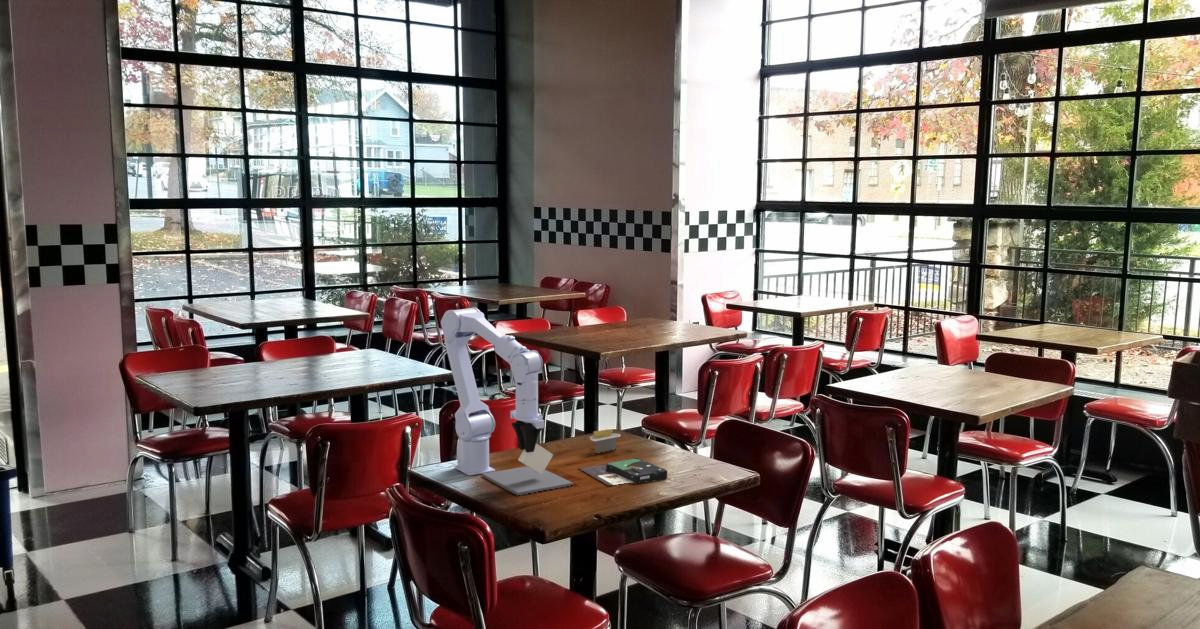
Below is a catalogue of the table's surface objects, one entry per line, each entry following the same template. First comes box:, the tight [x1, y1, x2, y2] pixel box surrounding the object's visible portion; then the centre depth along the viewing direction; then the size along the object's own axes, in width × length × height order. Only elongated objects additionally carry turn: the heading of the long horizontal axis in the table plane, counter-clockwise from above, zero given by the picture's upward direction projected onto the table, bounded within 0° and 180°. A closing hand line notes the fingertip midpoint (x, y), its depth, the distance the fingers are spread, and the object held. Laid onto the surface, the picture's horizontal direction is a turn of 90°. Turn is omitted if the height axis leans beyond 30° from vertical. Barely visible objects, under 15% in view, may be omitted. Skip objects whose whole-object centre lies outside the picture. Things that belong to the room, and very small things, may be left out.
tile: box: [517, 442, 554, 475], centre depth 251 cm, size 2×7×6 cm
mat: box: [482, 465, 574, 497], centre depth 253 cm, size 20×16×1 cm
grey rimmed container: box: [589, 428, 621, 454], centre depth 283 cm, size 12×18×7 cm, turn 129°
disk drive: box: [606, 457, 668, 484], centre depth 259 cm, size 10×3×15 cm
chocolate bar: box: [577, 463, 633, 487], centre depth 258 cm, size 9×1×18 cm
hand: (527, 450), depth 249 cm, fingers closed on tile, 2 cm apart
